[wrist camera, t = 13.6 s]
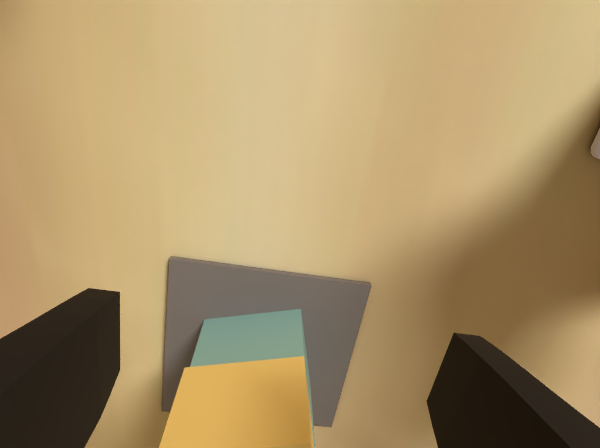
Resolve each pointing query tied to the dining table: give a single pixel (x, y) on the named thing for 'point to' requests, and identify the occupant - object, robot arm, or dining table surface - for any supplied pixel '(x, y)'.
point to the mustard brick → (241, 406)
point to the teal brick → (253, 340)
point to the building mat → (262, 299)
